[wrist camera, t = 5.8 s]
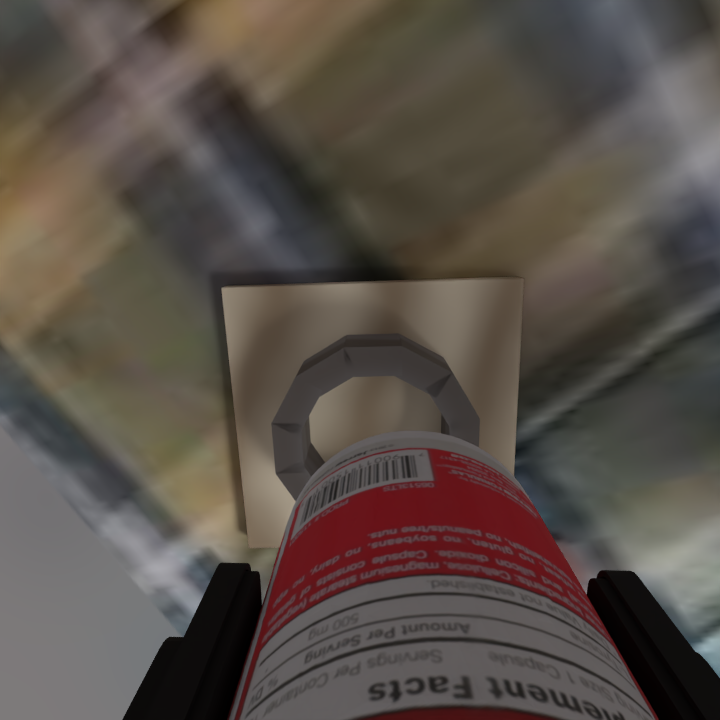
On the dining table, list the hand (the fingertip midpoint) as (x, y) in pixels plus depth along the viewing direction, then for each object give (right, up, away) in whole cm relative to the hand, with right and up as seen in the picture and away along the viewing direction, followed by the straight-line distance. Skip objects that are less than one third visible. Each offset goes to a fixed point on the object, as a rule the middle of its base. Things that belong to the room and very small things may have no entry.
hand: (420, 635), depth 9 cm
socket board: (0, +2, +19) cm, 19 cm away
